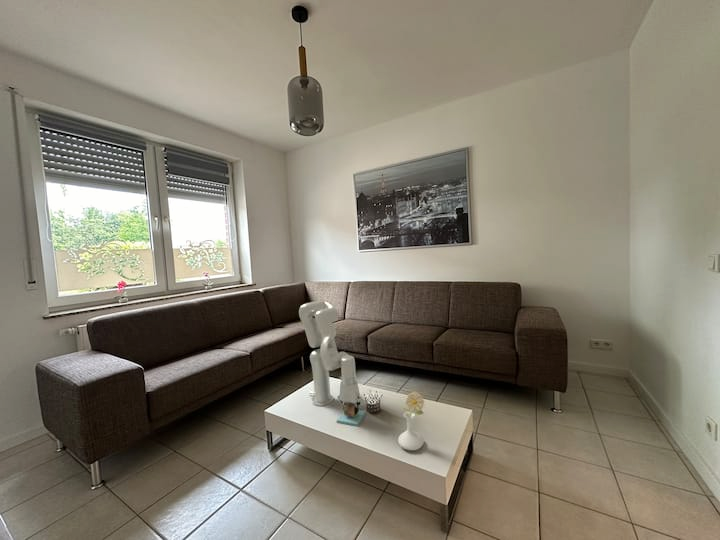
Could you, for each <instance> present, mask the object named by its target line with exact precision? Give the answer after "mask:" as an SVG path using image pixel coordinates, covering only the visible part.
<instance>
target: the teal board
mask: <svg viewBox="0 0 720 540" xmlns="http://www.w3.org/2000/svg"><path fill="white" fill-rule="evenodd" d="M366 414H367V411H366V410H362V409H361V410H360V409H359V412H358V413H357V414H356V415H355V416H354V417H352V416H346V415H344V410H343V411H342V413H341V414H340V415H339V417H338V418H337V419H336V423H337V424H343V425H349V426H354V427H359V425H360V423H361V422H362V421H363V419H364V417H365V416H366Z"/></svg>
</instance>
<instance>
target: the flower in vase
mask: <svg viewBox="0 0 720 540" xmlns="http://www.w3.org/2000/svg"><path fill="white" fill-rule="evenodd" d="M404 404H405V405H406V407H407V408H404V406H403V409H404V410H405V411H406V412H405V413H404V412H403V418H405V420H406V425H407V428H406V430H405V431H404V432H402V433H400V435H399V436H398V438H397V442H398V445H399V446H400V447H401V448H402V449H404V450H407V451H417V450H419V449H421V448H422V447H423V445H424V439H423V437H422V435H420V433H419V432H417V431H415V430H414V428H413V421H414V418H415V416H416V415H424V412H423V407H424V404H425V400H424V398H423V396H422V394H419V393H418V392H416V391H413V392H410V393H409V394H407V396H406V399H405V403H404ZM415 413H416V414H415Z"/></svg>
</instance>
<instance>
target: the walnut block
mask: <svg viewBox="0 0 720 540" xmlns="http://www.w3.org/2000/svg"><path fill="white" fill-rule="evenodd" d="M354 408H355V404H354V403H349V402H346V404H345V405H344V410H343V411H344V415H346V416H352V417H354V416H355V409H354Z"/></svg>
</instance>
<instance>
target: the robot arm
mask: <svg viewBox="0 0 720 540" xmlns="http://www.w3.org/2000/svg"><path fill="white" fill-rule="evenodd" d="M298 315H299V316H298V317H299V318H300V321H301V323H302V325H303V328H304V330H305V335H306V338H307V342H308V345H309V347H310V348H313V349H314V348H318V349H315V350H313V351H311V353H309V354H310V355H309V361H310V364H311V371H312V378H313V379H312V380H313V390H314V391H312V390H311V391H309V397H310V398H311V397H312V404H313V405H315V406H318V407H319V406H320V407H321V406H327V405H329V404H331V403H332V402H333V401H334V396H333V395H332V394H331V385H330V384H331V382H330V372H329V371H334V370H336V369H339V368H340V369H341V370H340V373H341V375H340V376H339V379H340V380H341V381H340V385H339V393H338V396H337V397H336V399H337V400H338V401H339V402H340V403H341V405H342V409H343V411H344V405H345V404H346V403H347V402H349V403H354V404H355V408H354V409H355V415H356V414H357V413H358V412H359V410H360V409H359V408H360V407H359V406H360V405H361V404H362V403H364V401H365V399H364V398H363V397H362V396H361V394H360V387H359V382H358V381H357V376H356V361H355V357H354V356H353V355H349V354H348V353H347V352H345V351H340V352H339V351H338V348H337V344H336V341H335V340H336V339H335V337H336V336H337V331H336V328H335V326H334V323H333V322H337V321H338V320H339V317H340V315H339V312H338V309H337V308H336V307H335V306H334V305H332V304H331V303H329V302H327V301H326V300H317V301H311V302H306V303H304V304H302V305H300V307H299V310H298Z"/></svg>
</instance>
